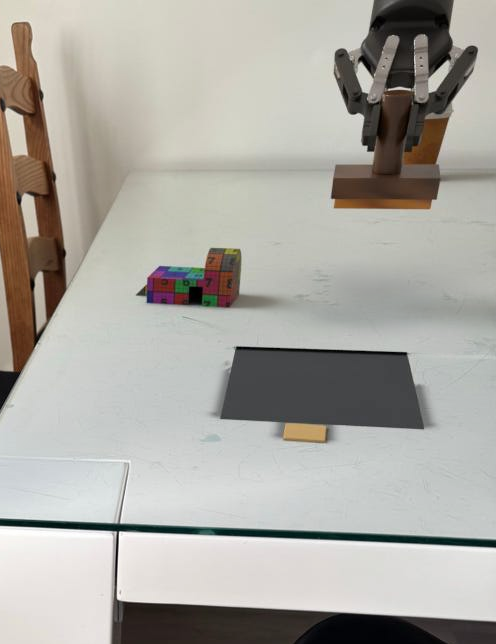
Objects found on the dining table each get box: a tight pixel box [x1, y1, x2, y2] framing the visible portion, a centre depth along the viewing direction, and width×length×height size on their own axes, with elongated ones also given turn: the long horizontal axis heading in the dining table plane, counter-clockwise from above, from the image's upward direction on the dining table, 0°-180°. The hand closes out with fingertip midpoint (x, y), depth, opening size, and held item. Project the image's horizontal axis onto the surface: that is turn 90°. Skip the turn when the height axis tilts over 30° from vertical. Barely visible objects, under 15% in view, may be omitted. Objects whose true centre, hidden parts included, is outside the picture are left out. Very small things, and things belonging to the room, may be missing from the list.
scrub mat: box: [219, 345, 425, 430], centre depth 90 cm, size 16×21×1 cm
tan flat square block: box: [282, 422, 327, 444], centre depth 80 cm, size 3×3×1 cm
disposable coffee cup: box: [402, 101, 454, 164], centre depth 173 cm, size 10×10×12 cm
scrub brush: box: [330, 89, 442, 210], centre depth 98 cm, size 10×5×10 cm, turn 73°
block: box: [135, 247, 242, 309], centre depth 113 cm, size 12×8×7 cm
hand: (390, 145), depth 96 cm, fingers closed on scrub brush, 3 cm apart
